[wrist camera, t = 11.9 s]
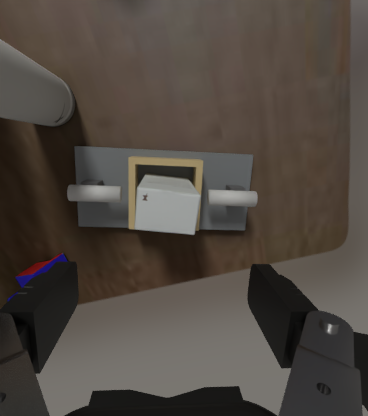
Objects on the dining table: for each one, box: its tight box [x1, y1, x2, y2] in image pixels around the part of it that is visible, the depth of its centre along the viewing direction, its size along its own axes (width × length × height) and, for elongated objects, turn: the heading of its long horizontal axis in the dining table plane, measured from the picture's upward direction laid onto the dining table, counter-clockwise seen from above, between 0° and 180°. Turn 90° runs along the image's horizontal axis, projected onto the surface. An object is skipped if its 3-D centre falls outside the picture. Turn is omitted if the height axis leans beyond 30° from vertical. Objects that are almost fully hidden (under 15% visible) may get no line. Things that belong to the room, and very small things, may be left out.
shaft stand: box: [67, 146, 257, 231], centre depth 33 cm, size 24×11×6 cm, turn 87°
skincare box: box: [134, 173, 201, 235], centre depth 29 cm, size 6×4×12 cm
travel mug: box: [0, 39, 75, 127], centre depth 23 cm, size 6×7×20 cm
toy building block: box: [7, 253, 68, 302], centre depth 35 cm, size 4×4×8 cm
